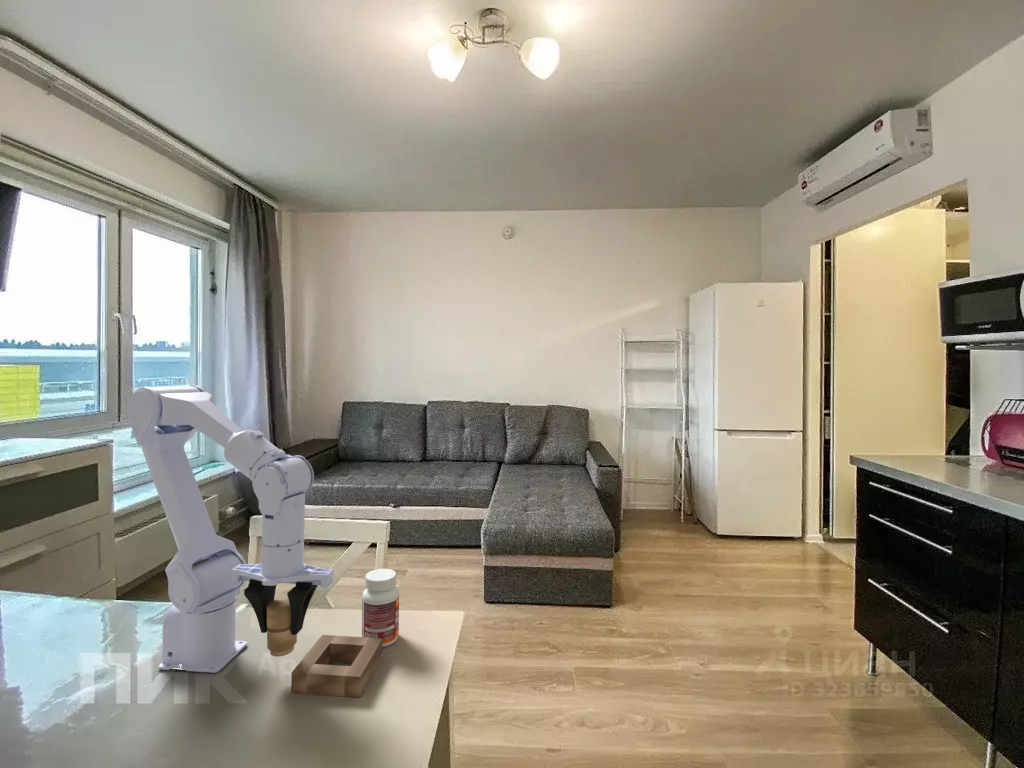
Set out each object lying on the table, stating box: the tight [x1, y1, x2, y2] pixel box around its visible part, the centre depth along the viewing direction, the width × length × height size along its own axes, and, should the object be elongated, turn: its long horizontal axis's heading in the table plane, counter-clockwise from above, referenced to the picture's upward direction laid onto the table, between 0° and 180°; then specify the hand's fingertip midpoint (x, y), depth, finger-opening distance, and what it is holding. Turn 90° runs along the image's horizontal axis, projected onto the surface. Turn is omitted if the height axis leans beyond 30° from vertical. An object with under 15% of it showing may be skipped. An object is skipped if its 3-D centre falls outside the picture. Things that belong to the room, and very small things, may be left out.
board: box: [290, 634, 383, 699], centre depth 76 cm, size 10×10×3 cm
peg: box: [266, 597, 298, 657], centre depth 74 cm, size 4×4×7 cm
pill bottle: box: [361, 568, 400, 648], centre depth 85 cm, size 6×6×11 cm
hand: (281, 630), depth 74 cm, fingers closed on peg, 4 cm apart
